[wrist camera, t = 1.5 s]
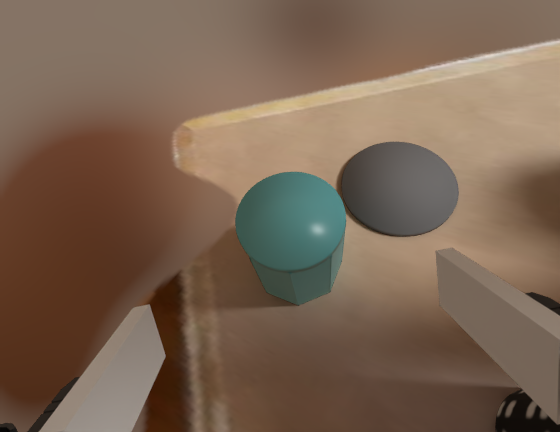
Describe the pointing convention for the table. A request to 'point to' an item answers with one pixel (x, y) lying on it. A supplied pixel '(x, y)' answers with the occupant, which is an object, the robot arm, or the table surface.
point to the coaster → (399, 189)
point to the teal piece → (293, 234)
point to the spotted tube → (523, 415)
